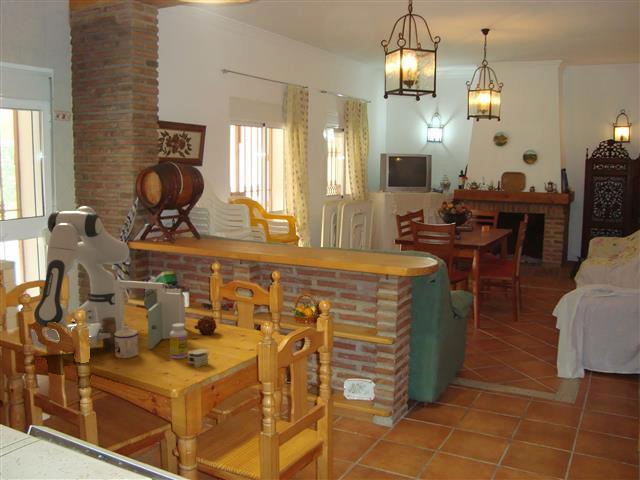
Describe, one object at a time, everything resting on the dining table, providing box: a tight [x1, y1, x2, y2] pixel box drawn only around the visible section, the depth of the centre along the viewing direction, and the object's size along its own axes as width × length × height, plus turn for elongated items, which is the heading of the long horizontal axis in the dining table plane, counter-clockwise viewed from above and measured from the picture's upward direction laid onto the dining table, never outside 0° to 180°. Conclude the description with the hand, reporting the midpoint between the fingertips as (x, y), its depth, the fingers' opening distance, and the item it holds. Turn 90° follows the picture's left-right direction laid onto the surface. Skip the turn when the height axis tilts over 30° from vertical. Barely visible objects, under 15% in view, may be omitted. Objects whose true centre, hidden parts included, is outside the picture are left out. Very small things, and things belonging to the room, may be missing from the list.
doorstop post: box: [102, 317, 116, 353], centre depth 251 cm, size 5×5×13 cm
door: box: [147, 302, 163, 350], centre depth 259 cm, size 16×3×16 cm, turn 179°
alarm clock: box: [143, 287, 167, 318], centre depth 304 cm, size 12×7×15 cm, turn 110°
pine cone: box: [194, 315, 218, 336], centre depth 276 cm, size 8×8×12 cm
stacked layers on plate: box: [187, 348, 210, 368], centre depth 234 cm, size 10×9×6 cm
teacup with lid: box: [114, 325, 139, 359], centre depth 243 cm, size 12×9×12 cm
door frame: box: [114, 279, 182, 340], centre depth 270 cm, size 31×2×24 cm, turn 74°
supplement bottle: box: [169, 323, 189, 360], centre depth 243 cm, size 7×7×13 cm
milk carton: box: [166, 288, 186, 326], centre depth 281 cm, size 7×7×19 cm
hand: (111, 332), depth 252 cm, fingers closed on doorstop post, 5 cm apart
